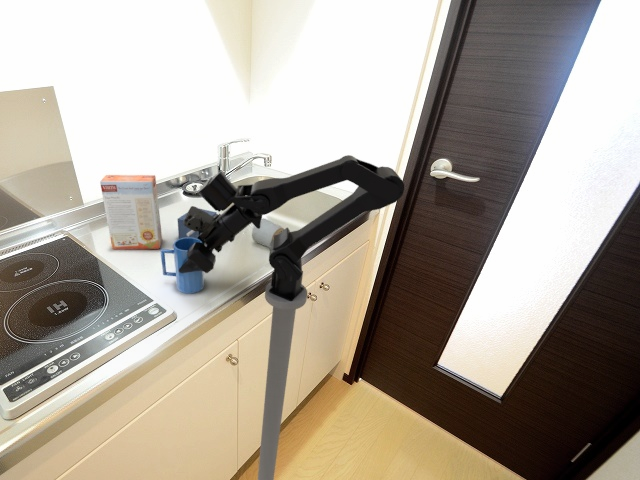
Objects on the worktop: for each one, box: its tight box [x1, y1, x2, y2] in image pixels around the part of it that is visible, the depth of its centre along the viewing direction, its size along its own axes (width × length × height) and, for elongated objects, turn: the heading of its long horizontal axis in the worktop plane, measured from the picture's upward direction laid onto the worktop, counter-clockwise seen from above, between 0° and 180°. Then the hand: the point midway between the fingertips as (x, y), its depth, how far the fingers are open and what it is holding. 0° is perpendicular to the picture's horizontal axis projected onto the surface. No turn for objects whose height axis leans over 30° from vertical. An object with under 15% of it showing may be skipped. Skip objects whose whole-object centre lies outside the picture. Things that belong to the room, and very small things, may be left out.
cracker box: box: [99, 174, 163, 250], centre depth 105 cm, size 14×6×21 cm, turn 92°
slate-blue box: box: [177, 208, 218, 239], centre depth 112 cm, size 15×8×7 cm, turn 154°
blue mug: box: [160, 237, 205, 294], centre depth 90 cm, size 10×7×12 cm, turn 84°
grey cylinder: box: [251, 217, 285, 249], centre depth 111 cm, size 11×8×8 cm
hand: (184, 261), depth 89 cm, fingers open, 9 cm apart
